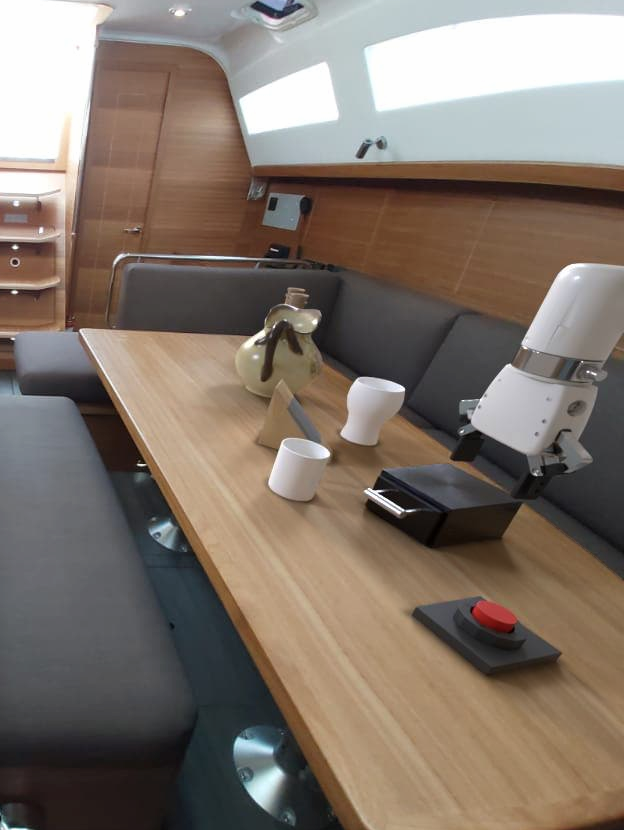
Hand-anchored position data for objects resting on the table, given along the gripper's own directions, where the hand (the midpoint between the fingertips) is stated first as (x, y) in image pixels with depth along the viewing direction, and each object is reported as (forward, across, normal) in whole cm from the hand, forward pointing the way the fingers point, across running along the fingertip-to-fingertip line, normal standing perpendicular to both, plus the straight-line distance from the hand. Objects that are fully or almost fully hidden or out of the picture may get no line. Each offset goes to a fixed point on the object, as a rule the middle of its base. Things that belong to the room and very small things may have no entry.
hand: (489, 478), depth 71 cm
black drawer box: (+20, +16, -12) cm, 28 cm away
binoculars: (+20, +108, -32) cm, 115 cm away
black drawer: (+19, +15, -8) cm, 25 cm away
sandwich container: (+20, +43, -2) cm, 48 cm away
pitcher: (+20, +79, -14) cm, 82 cm away
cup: (+20, +50, -21) cm, 57 cm away
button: (+16, -11, +2) cm, 20 cm away
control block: (+20, -11, +2) cm, 23 cm away
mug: (+20, +26, +8) cm, 34 cm away
